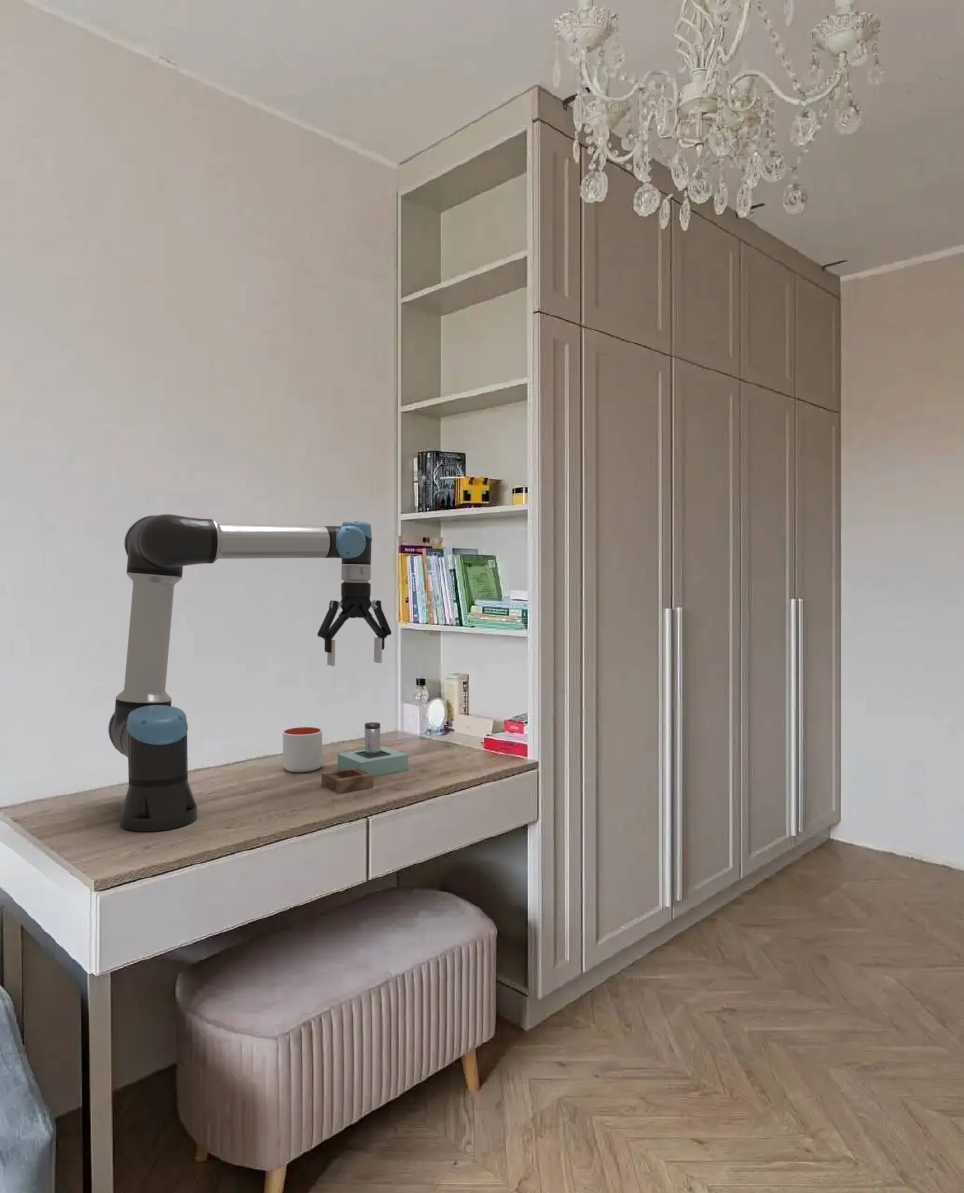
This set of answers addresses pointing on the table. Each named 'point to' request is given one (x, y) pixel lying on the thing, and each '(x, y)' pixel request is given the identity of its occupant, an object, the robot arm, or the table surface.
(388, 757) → the block
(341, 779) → the brown wooden square tray
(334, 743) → the table surface
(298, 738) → the cup
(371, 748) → the plug
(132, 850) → the table surface
